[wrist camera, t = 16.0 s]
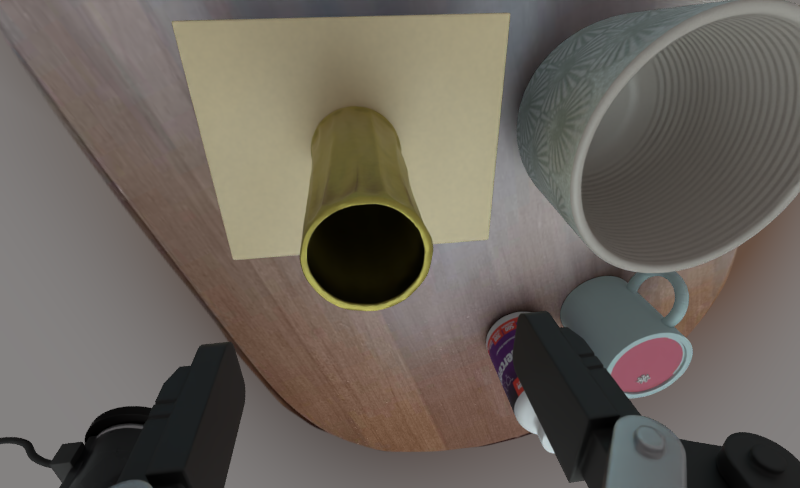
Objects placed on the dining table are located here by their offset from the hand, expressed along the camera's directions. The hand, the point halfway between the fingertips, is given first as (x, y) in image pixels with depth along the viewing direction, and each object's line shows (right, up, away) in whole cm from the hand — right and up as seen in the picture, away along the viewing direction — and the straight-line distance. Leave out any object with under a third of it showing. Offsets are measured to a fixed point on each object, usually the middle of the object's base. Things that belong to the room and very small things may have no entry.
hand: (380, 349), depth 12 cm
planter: (+17, +16, +27) cm, 36 cm away
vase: (-2, +9, +17) cm, 19 cm away
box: (-4, +14, +25) cm, 29 cm away
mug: (+26, -3, +38) cm, 46 cm away
